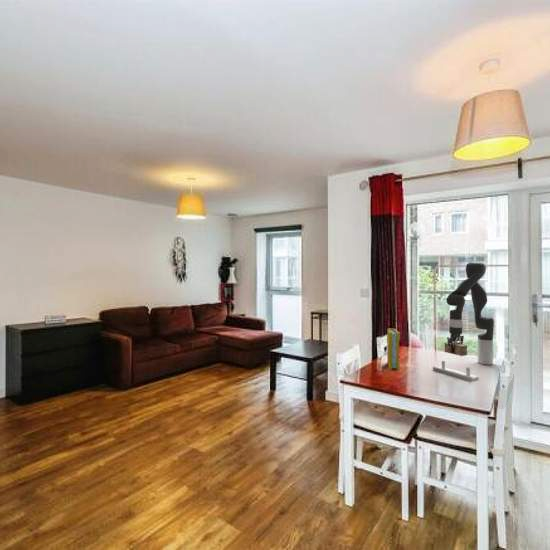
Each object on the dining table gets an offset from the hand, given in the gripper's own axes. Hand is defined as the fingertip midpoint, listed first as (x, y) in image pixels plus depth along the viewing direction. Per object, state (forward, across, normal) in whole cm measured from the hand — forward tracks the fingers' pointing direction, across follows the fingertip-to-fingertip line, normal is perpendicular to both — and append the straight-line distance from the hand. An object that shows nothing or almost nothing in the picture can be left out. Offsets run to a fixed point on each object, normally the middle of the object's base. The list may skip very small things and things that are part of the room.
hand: (455, 352), depth 224 cm
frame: (+1, 0, 0) cm, 1 cm away
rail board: (+14, -1, 0) cm, 14 cm away
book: (+14, -20, +33) cm, 41 cm away
